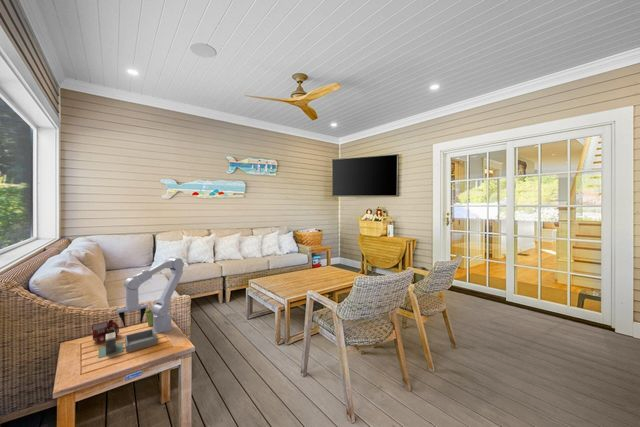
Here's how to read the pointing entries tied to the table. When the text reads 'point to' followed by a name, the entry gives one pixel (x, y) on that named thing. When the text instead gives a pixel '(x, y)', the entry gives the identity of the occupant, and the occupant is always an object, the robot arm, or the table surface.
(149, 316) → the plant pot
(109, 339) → the box
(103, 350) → the mat
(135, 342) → the grey tray
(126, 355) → the table surface
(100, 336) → the toy fire truck
